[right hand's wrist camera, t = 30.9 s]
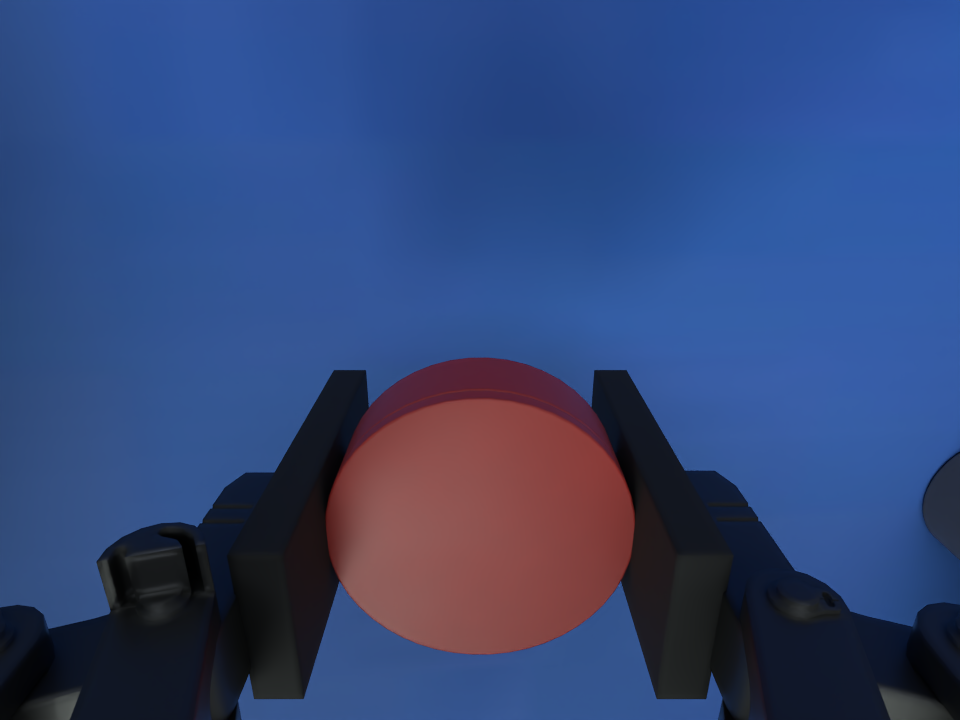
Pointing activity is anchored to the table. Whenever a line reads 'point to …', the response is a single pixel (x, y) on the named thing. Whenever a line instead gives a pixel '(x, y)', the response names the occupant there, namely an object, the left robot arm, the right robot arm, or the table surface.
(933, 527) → the dark grey cylinder
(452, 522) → the lid
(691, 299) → the table surface
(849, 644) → the right robot arm
